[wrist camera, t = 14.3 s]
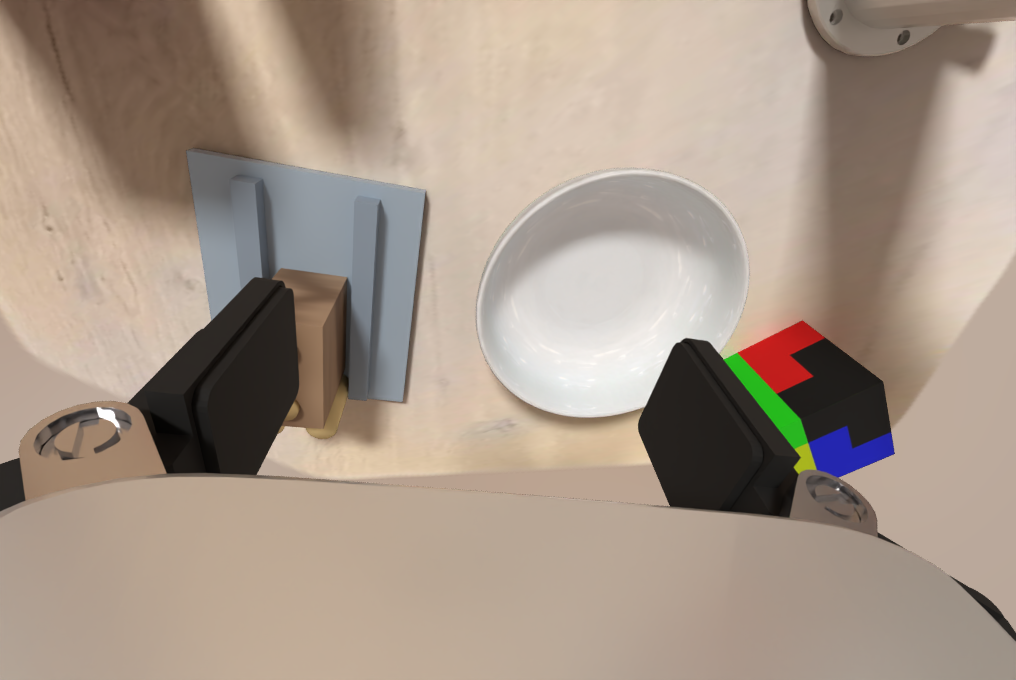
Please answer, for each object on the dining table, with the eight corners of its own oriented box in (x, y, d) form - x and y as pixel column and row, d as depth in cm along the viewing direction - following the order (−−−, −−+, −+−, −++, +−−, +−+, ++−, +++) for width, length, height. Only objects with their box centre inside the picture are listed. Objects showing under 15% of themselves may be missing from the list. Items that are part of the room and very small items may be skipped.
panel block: (347, 277, 36) (320, 331, 29) (345, 367, 41) (321, 434, 34) (280, 267, 35) (235, 321, 28) (286, 361, 40) (248, 429, 33)
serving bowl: (455, 360, 43) (455, 408, 37) (500, 123, 33) (509, 137, 27) (654, 385, 47) (682, 431, 41) (751, 180, 37) (807, 204, 31)
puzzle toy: (819, 386, 49) (894, 453, 41) (732, 426, 51) (786, 499, 43) (802, 320, 44) (883, 381, 36) (706, 368, 46) (761, 436, 38)
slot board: (425, 190, 34) (419, 217, 28) (403, 395, 44) (395, 447, 39) (193, 148, 31) (132, 168, 25) (225, 378, 41) (187, 431, 36)
